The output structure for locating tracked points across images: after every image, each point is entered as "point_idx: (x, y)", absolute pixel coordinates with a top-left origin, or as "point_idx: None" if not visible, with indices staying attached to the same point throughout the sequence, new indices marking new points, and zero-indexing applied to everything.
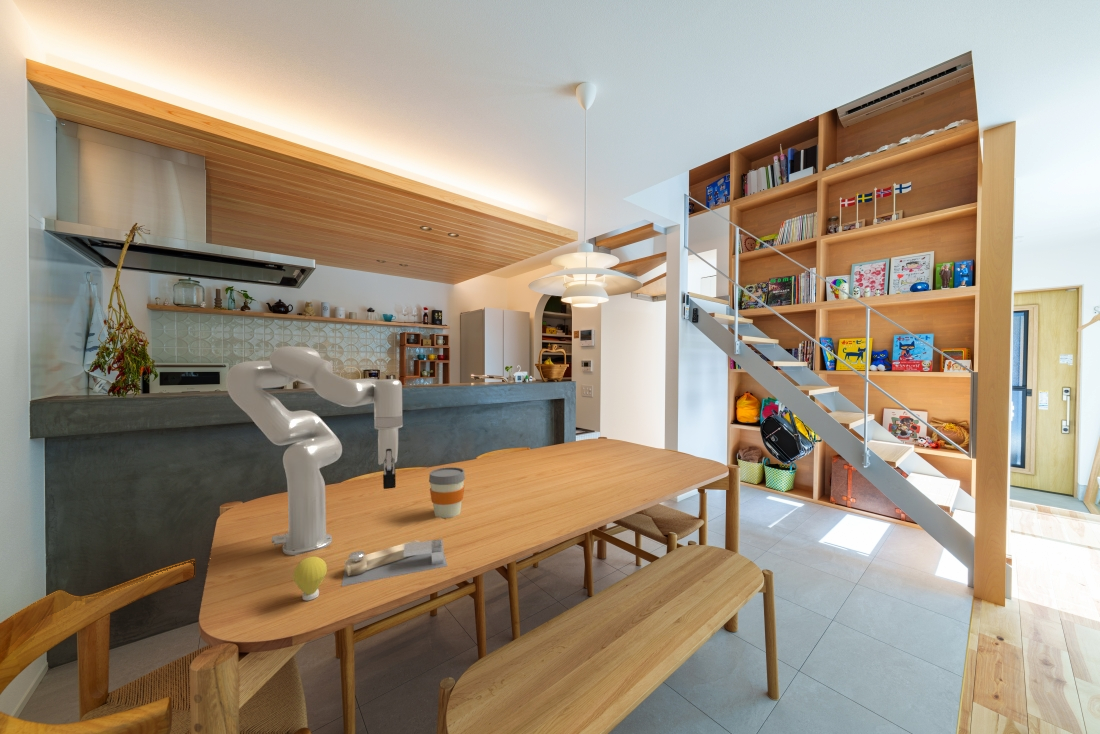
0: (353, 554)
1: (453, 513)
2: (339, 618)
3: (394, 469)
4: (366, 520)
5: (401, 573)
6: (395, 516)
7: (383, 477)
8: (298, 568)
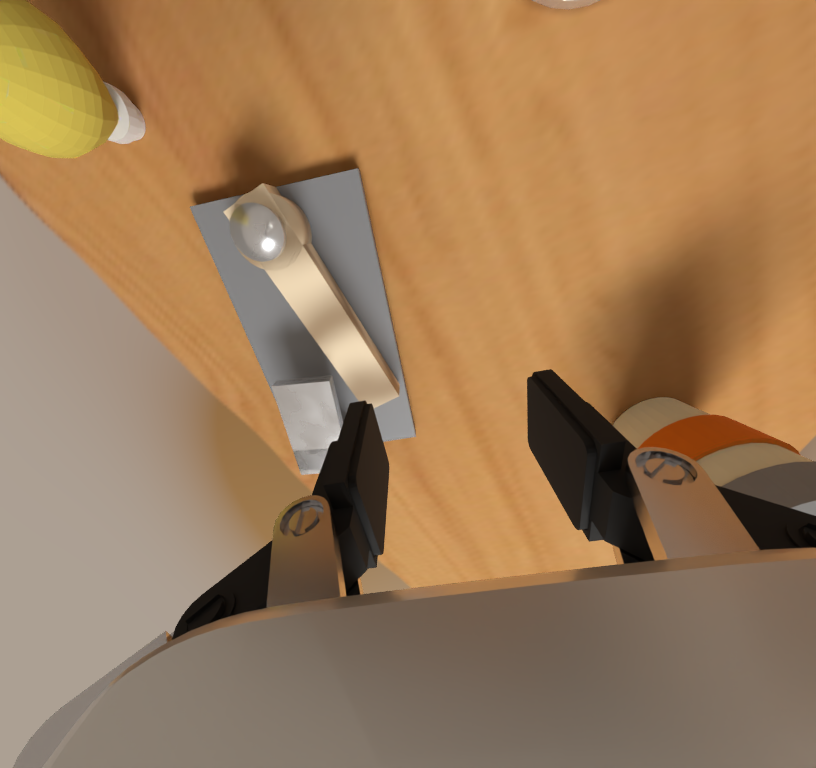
0: (257, 218)
1: None
2: (76, 248)
3: (576, 525)
4: (766, 130)
5: (266, 364)
6: (729, 263)
7: (331, 465)
8: None
